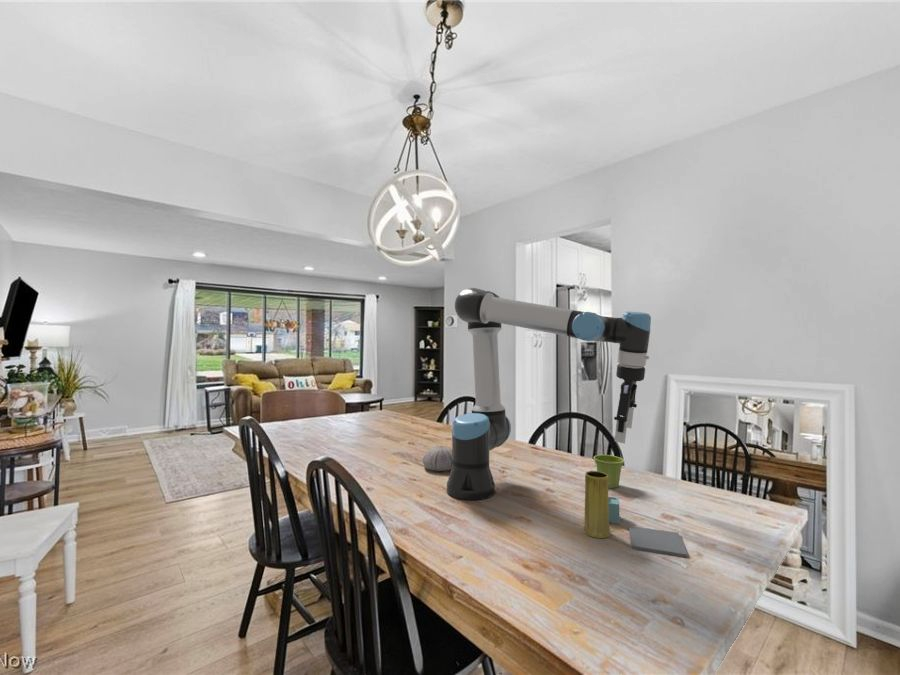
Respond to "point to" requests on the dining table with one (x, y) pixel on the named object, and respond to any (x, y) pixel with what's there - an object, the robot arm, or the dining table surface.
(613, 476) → the plant pot
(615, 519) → the letter cube
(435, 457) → the sea urchin shell
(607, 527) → the vase
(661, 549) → the slate mat
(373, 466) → the dining table surface
